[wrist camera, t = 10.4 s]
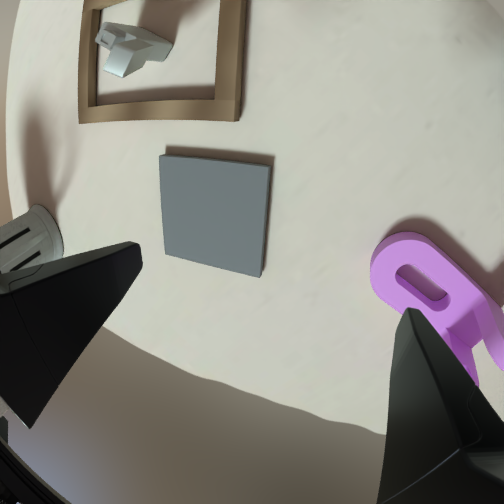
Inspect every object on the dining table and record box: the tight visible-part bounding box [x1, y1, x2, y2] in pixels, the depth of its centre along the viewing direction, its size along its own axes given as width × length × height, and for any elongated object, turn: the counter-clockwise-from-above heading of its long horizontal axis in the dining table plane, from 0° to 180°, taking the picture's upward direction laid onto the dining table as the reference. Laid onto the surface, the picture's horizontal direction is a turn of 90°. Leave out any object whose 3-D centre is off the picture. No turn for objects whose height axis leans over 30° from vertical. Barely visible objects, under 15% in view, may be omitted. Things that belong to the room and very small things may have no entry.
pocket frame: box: [78, 0, 247, 124], centre depth 18 cm, size 16×13×1 cm
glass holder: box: [0, 205, 63, 274], centre depth 27 cm, size 9×14×15 cm, turn 110°
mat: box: [159, 154, 271, 278], centre depth 24 cm, size 9×9×1 cm
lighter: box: [95, 22, 172, 78], centre depth 16 cm, size 7×2×8 cm, turn 55°
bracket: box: [370, 232, 504, 388], centre depth 18 cm, size 13×6×7 cm, turn 62°
